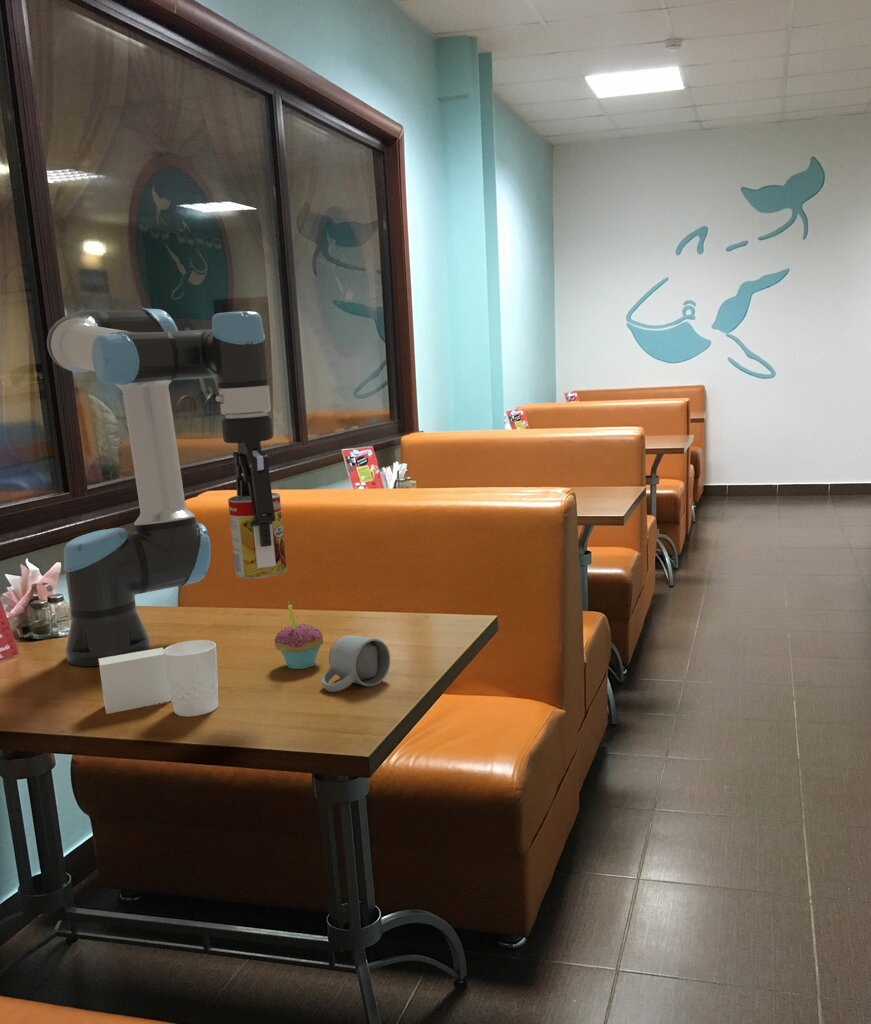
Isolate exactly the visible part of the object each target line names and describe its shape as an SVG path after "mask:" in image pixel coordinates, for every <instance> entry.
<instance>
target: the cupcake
mask: <svg viewBox="0 0 871 1024" xmlns="http://www.w3.org/2000/svg"><path fill="white" fill-rule="evenodd" d="M290 602H291V601H287V603H288V606H287V608H288V612H289V613H288V614H289V621H290V624H291V625H290V626H287V627H284V628H283V629H281V630H280V631H279V632H277V634H276V636H275V638H274V647H275V649H276V650H277V651H279V652H280V653H281V655H282V656H283V659H284V661H285V663H286V665H287V667H288V668H289V669H292V670H302V669H303V670H304V669H307V668H311V667H313V666H314V665H315V664H316V659H317V656H318V652H319V650H320V648H321V646H322V645H323V644H324V636H323V632H322V631H321V629H319V628H316V627H314V626H313V625H310V624H304V623H299V624H298V623H297V624H296V622H295V621H296V620H295V616H294V609H293V605H292V604H290Z"/></svg>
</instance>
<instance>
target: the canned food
mask: <svg viewBox="0 0 871 1024" xmlns="http://www.w3.org/2000/svg"><path fill="white" fill-rule="evenodd" d="M280 495H281V494H280V493H276V492H272V499H273V506H274V514H275V521H273V522H272V529H273V540H274V551H275V562H276V566H270V567H263V568H257V560H256V549H255V539H254V529H253V526H252V527H251V525H250V523H251V522H252V521H254V515H253V509H252V500H251V498H250V495H249V496H242V495H239V496H237V495H236V496H231V497H229V498H228V499H227V500H228V501H227V502H228V510H229V512H228V514H229V521H230V530H231V531H230V532H231V539H232V540H231V541H232V549H233V550H232V551H233V552H232V553H233V561H234V572H235V576H236V577H237V578H240V579H261V578H262V579H263V578H270V577H274V576H279V575H281V574H284V573H285V572H287V559H286V549H285V537H284V528H283V527H284V525H283V516H282V514H283V513H282V504H281V496H280ZM262 515H263V514H262Z"/></svg>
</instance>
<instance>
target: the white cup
mask: <svg viewBox="0 0 871 1024" xmlns="http://www.w3.org/2000/svg"><path fill="white" fill-rule="evenodd" d="M163 649H164V651H163V653H164V659H165V665H166V671H167V677H168V682H169V688H170V693H171V700H172V701H171V702H172V705H173V712H174V714H175V715H177V716H180V717H186V718H188V717H198V716H202V715H206V714H209V713H211V712H213V711H215V710H216V709H218V707H219V692H218V690H219V685H218V684H219V677H218V676H219V675H218V674H219V673H218V657H217V644H216V642H214V641H212V640H208V639H197V640H196V639H195V640H194V639H193V640H186V641H182V642H177V643H174V644H171V645H168V646H167V647H165V648H163Z"/></svg>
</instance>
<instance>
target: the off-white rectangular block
mask: <svg viewBox="0 0 871 1024" xmlns="http://www.w3.org/2000/svg"><path fill="white" fill-rule="evenodd" d="M164 649H165V648H164V647H158V648H152V649H151V648H150V650H145V651H140V652H134V653H128V654H123V655H117V656H111V657H105V658H100V659H98V660H99V674H100V682H101V688H102V689H101V690H102V697H103V698H102V699H103V704H104V710H105V714H106V715H109V714H114V713H119V712H124V711H129V710H135V709H139V708H144V706H145V707H149V706H155V705H159V703H160V704H165V703H164V702H166V703H169V701H171V702H173V701H172V696H171V693H170V688H169V682H168V677H167V671H166V665H165V659H164V653H163V651H164ZM154 704H155V705H154Z"/></svg>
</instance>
